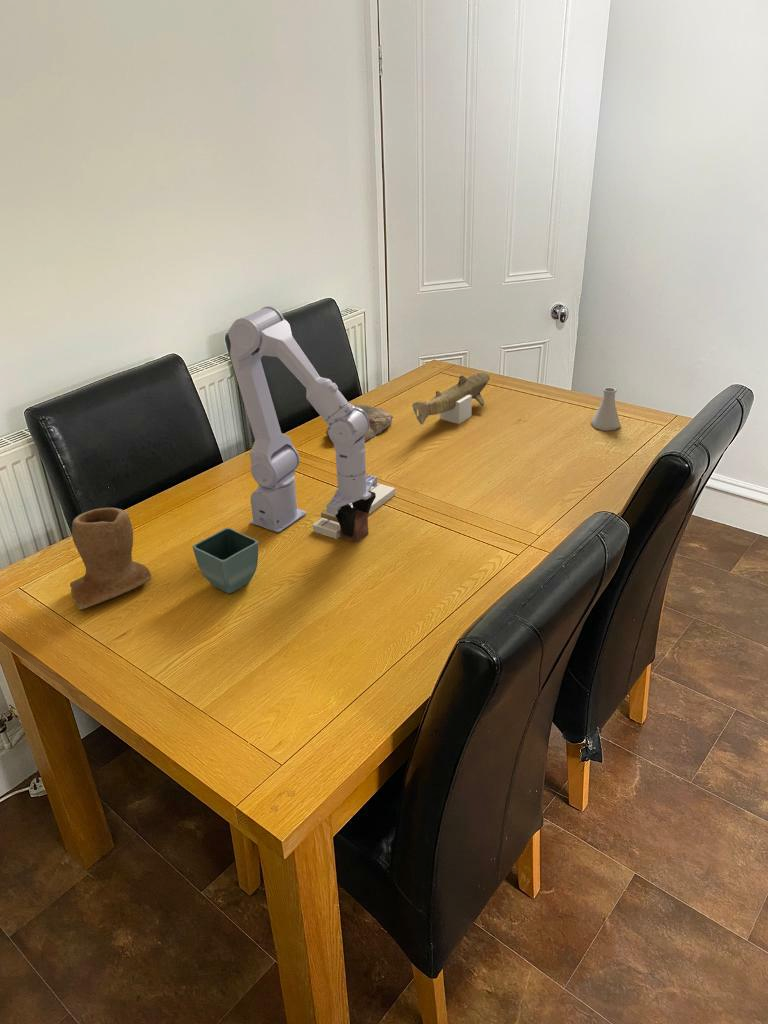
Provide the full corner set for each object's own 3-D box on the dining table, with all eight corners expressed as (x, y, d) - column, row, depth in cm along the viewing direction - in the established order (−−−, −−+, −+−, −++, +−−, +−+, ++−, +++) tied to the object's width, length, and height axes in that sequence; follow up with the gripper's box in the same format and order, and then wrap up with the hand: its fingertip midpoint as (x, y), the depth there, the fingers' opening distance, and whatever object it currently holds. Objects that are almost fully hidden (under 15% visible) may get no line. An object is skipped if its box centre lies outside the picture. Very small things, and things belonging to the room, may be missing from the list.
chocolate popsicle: (357, 543, 163) (356, 521, 160) (317, 529, 168) (316, 508, 165) (368, 534, 166) (367, 513, 163) (329, 521, 171) (327, 500, 168)
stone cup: (133, 559, 160) (118, 493, 152) (160, 585, 152) (146, 516, 144) (57, 589, 152) (37, 520, 144) (81, 618, 143) (62, 547, 136)
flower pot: (233, 565, 157) (227, 526, 152) (264, 581, 152) (259, 540, 148) (197, 586, 151) (190, 546, 147) (229, 603, 146) (222, 562, 142)
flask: (585, 423, 211) (589, 387, 206) (607, 418, 213) (612, 382, 208) (603, 433, 205) (607, 396, 200) (625, 428, 208) (630, 391, 203)
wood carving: (398, 439, 205) (398, 398, 200) (471, 396, 229) (472, 358, 223) (428, 448, 200) (428, 406, 195) (499, 402, 224) (501, 364, 219)
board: (336, 539, 164) (336, 532, 163) (313, 531, 167) (312, 524, 166) (395, 494, 180) (395, 487, 179) (373, 487, 183) (372, 481, 182)
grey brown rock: (353, 452, 200) (400, 423, 214) (352, 434, 198) (399, 406, 211) (310, 440, 208) (358, 413, 221) (308, 423, 205) (357, 396, 219)
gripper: (346, 490, 151) (349, 551, 157) (388, 460, 161) (390, 519, 168) (316, 481, 154) (320, 541, 161) (359, 452, 164) (362, 510, 171)
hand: (354, 529), depth 165 cm, fingers closed on chocolate popsicle, 4 cm apart
